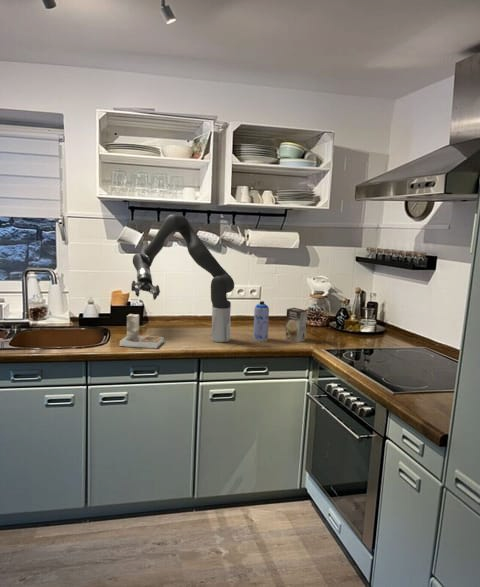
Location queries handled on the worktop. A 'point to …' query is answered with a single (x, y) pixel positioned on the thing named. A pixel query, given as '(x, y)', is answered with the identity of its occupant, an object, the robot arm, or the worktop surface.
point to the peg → (133, 327)
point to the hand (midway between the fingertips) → (146, 296)
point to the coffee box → (296, 324)
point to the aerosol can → (261, 322)
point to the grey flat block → (143, 342)
